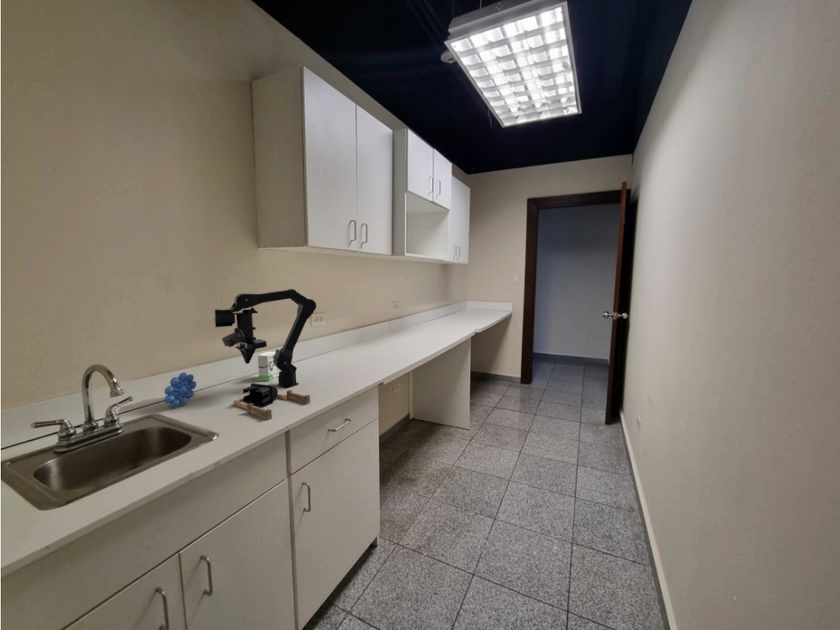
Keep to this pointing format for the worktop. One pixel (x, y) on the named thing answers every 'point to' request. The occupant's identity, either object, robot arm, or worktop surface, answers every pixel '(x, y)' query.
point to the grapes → (180, 390)
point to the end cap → (260, 395)
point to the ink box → (267, 367)
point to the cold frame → (267, 413)
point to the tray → (244, 405)
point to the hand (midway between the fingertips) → (247, 363)
